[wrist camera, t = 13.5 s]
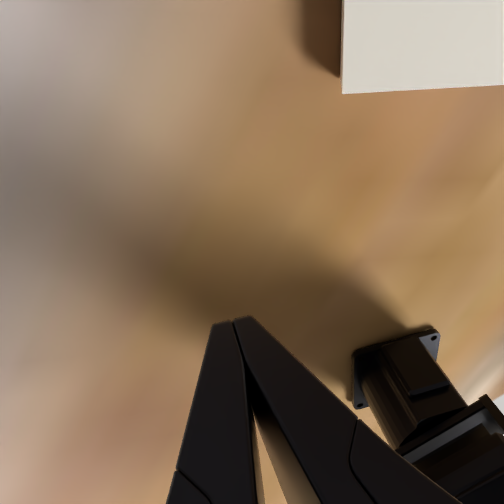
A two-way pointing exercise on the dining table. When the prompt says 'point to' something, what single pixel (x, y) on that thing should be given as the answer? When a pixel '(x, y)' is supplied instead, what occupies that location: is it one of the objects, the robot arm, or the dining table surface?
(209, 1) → the dining table surface
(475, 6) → the domino head
